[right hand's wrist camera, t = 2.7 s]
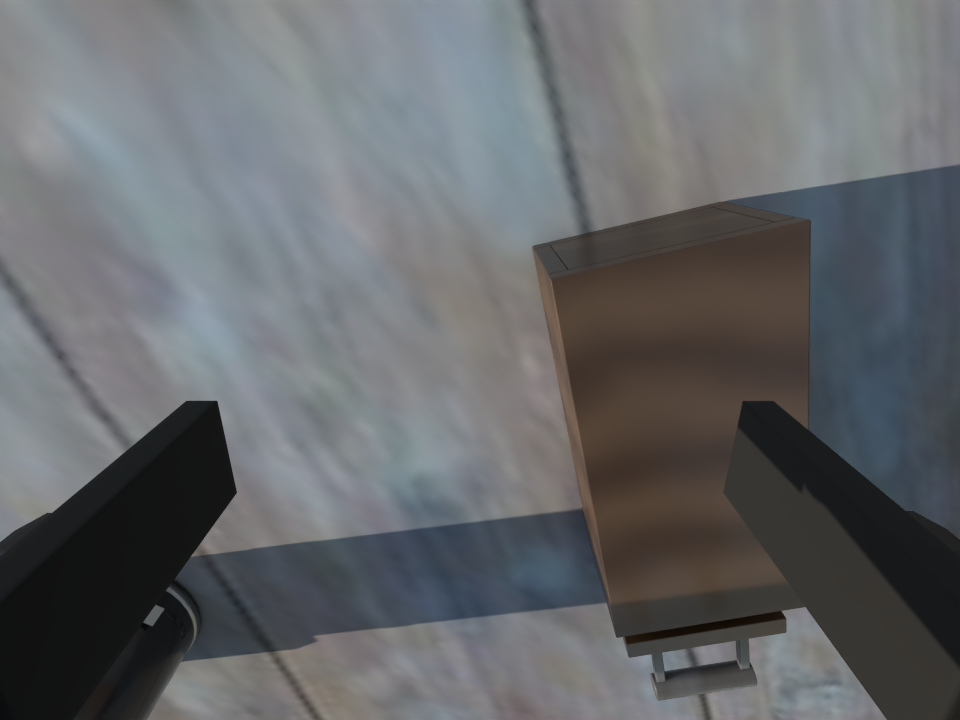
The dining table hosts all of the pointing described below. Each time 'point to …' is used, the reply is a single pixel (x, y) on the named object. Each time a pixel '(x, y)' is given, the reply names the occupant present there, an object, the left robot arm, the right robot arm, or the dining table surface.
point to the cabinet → (676, 399)
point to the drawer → (701, 635)
